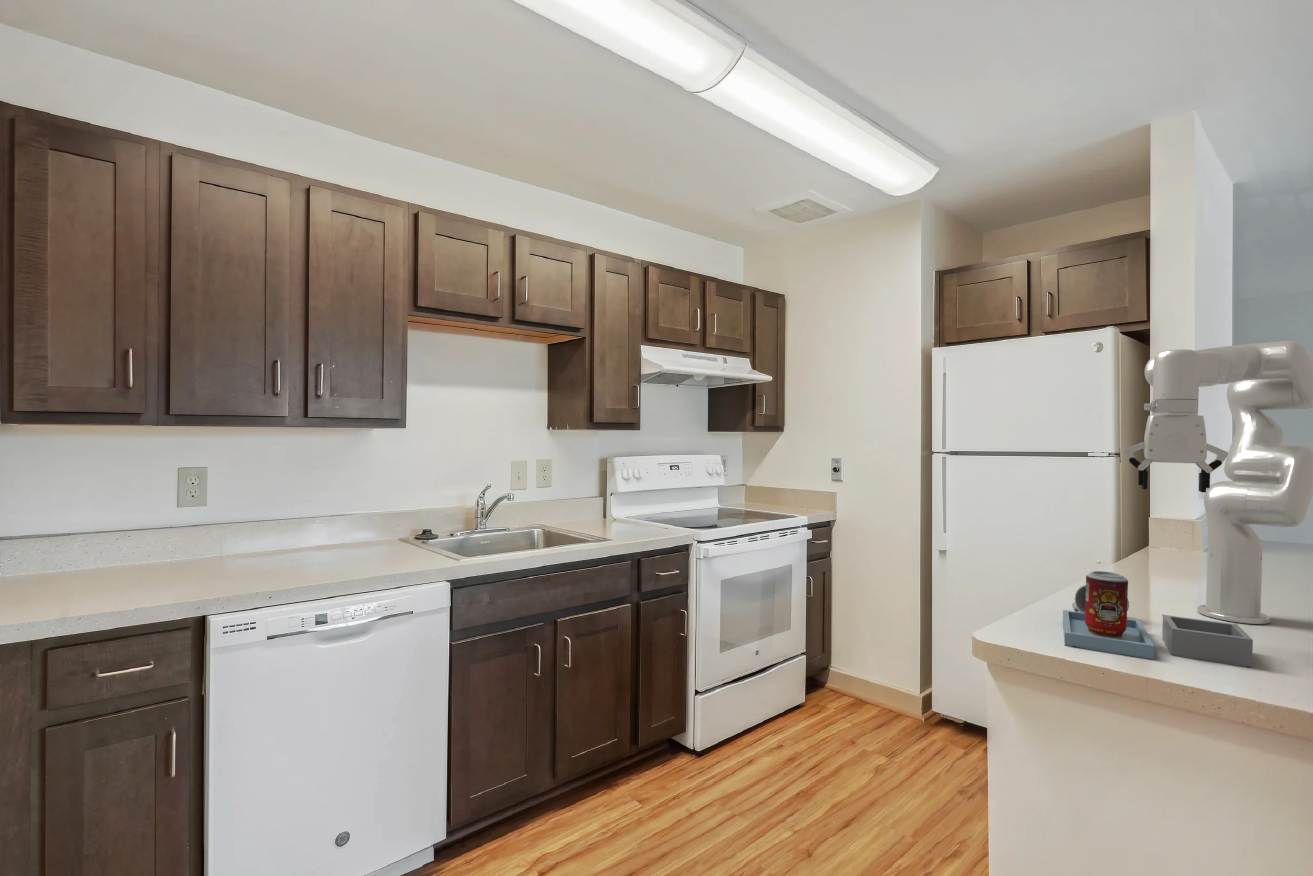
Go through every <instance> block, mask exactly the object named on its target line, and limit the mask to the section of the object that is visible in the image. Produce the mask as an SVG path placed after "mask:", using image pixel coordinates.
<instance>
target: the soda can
mask: <svg viewBox="0 0 1313 876" xmlns="http://www.w3.org/2000/svg"><path fill="white" fill-rule="evenodd" d="M1085 575H1086V576H1085V585H1086V598H1085V624H1086V625H1087V627H1088V630H1089V632H1090V633H1092V634H1095V635H1098V636H1103V637H1109V638H1120V637H1122V634H1123V633H1124V632H1125V630H1126V628H1127V619H1128V611H1127V600H1128V601H1129V598H1128V597H1129V595H1128V594H1129V593H1128V592H1129V589H1128V588H1129V580H1128V578H1126V577H1125V576H1124V575H1122V574H1119V573H1115V572H1111V571H1102V570H1101V571H1100V570H1099V571H1098V570H1096V571H1095V570H1094V571H1090V573H1087V574H1085Z"/></svg>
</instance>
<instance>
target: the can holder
mask: <svg viewBox="0 0 1313 876" xmlns="http://www.w3.org/2000/svg"><path fill="white" fill-rule="evenodd" d="M1161 634H1162V635H1161V639H1162V641H1163V642H1164V645H1165V646H1166V648H1167V650H1168V651H1169V654H1170V655H1171V656H1177V657H1181V658H1182V657H1183V658H1189V659H1195V660H1201V661H1207V662H1216V663H1222V664H1227V665H1234V666H1240V665H1242V666H1241V667H1246V666H1250V667H1249V668H1253V648H1254V647H1253V643H1254V641H1253V638H1252V637H1250V636H1249V634H1248V633H1246V632H1245V630H1244V629H1242V628H1241V627H1240V626H1239V625H1238V624H1236V623H1230V622H1229V623H1228V622H1224V621H1223V622H1221V621H1215V620H1214V621H1212V620H1207V619H1205V620H1204V619H1198V618H1192V617H1191V618H1190V617H1183V616H1177V615H1176V616H1174V615H1168V614H1162V633H1161Z"/></svg>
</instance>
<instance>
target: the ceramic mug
mask: <svg viewBox="0 0 1313 876" xmlns="http://www.w3.org/2000/svg"><path fill="white" fill-rule="evenodd" d="M1085 598H1086V584H1084V585H1081V586H1080V587H1079V588H1078V589H1076V591H1075V594H1074V602H1072V603H1071V606H1072V608H1073V611H1077V612H1082V613H1085ZM1129 607H1130V601H1129V599H1128V600H1127V612H1128V611H1129Z"/></svg>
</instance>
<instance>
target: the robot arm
mask: <svg viewBox="0 0 1313 876" xmlns="http://www.w3.org/2000/svg"><path fill="white" fill-rule="evenodd" d="M1144 376H1145V377H1144V378H1145V380H1146V382H1147V383H1148V385H1150V386H1151V387H1152V400H1151V402H1148V403H1144V405H1143V411H1149V412H1151V414H1152V415H1148V417H1147V421H1146V424H1145V431H1144V439H1143V441H1142V442H1139V443H1136V444H1134V445H1131V446H1129V447H1127V448H1123V450H1122V452H1123V455H1124V456H1125V457H1126V459H1127V461H1128V462H1129V464H1131V465H1132V466H1133V467H1135V468H1136V469H1137V471H1138V473H1137V485H1138V486H1141V490H1148V478H1149V476H1148V474H1149V473H1148V472H1149V471H1148V470H1147V467H1149V466H1150V465H1151V464H1152V463H1153V462H1154V463H1166V464H1167V463H1171V464H1195V465H1196V466H1197V467H1198V468H1199V469H1200V472H1199V473H1198V491H1199V492H1201V493H1203V505H1204V510H1205V516H1206V522H1207V558H1206V563H1207V564H1206V595H1205V596H1206V597H1205V598H1206V599H1205V604H1201V605H1200V604H1199V605H1198V606H1197V610H1196V611H1197V612H1198V613H1199V614H1201V615H1203V616H1206V617H1209V618H1213V619H1217V620H1222V621H1228V622H1233V623H1241V624H1247V625H1248V624H1250V625H1251V624H1252V625H1265V624H1269V623H1270V621H1271V617H1270V616H1268V615H1267V614H1265V613H1262V611H1261V609H1262V585H1263V584H1262V581H1263V543H1262V540H1261V539H1260V537H1259V535H1258V533H1256V531H1255V530H1254V529H1253V527H1251V526H1250V525H1260V526H1266V527H1267V526H1269V527H1276V528H1277V527H1279V528H1294V527H1295V528H1296V527H1298V526H1299V525H1301V524H1302V523H1303V522H1304V520H1305V519H1306V516H1307V513H1308V511H1309V507H1310V505H1311V501H1312V497H1313V449H1311V448H1309V447H1307V446H1305V445H1299V444H1298V445H1297V444H1282V441H1283V438H1284V431H1283V428H1282V427H1281V426H1280V424H1278V422H1277V421H1275V420H1274V419H1273V418H1272V417H1270V416H1269V415H1268V414H1266V413H1265V412H1264V410H1265V411H1268V410H1269V411H1270V410H1271V411H1273V410H1306V409H1307V410H1309V409H1313V358H1312V357H1311V354H1310V353H1309V351H1307V349H1306V348H1305V347H1304V346H1303V345H1302V344H1301V343H1298V342H1297V341H1294V340H1282V341H1281V340H1279V341H1268V342H1255V343H1246V344H1243V343H1242V344H1235V345H1226V346H1217V347H1210V348H1204V349H1197V350H1193V349H1181V348H1180V349H1179V348H1178V349H1167V350H1162V351H1159V352H1157V353H1156V354H1155V355H1154V356H1153V357H1151V358H1150V359H1149V360H1148V361H1147V363H1146V365H1145V367H1144ZM1216 385H1217V386H1218V385H1227V388H1226V399H1227V400H1226V401H1227V404H1228V408H1229V410H1230V413H1231V414H1230V415H1231V416H1232V418H1233V419H1232V420H1233V421H1234V425H1235V433H1234V435H1233V439H1232V441H1231V443H1230V447H1229V450H1228V451H1227V450H1223V449H1222V448H1219V447H1217V446H1214V445H1212V444H1210V443H1207V429H1206V422H1205V418H1204V415H1199V397H1200V396H1199V395H1200V394H1199V392H1200V391H1199V388H1203V387H1205V388H1206V387H1213V386H1216ZM1140 450H1142V454H1143V458H1144V459H1143V460H1142V461H1139V460H1137V458H1135V455H1134V453H1136V452H1137V451H1140ZM1208 452H1209V453H1212V454H1214V455H1216V457H1215V459H1213V461H1211V462H1210V463H1209V464H1208V463H1207V462H1206V460H1207V457H1208V456H1207V455H1208ZM1224 461H1225V462H1224ZM1223 463H1224V469H1223V471H1224V474H1225V476H1226V477H1227V478H1228V479H1229V480H1222V481H1217V482H1216V481H1215V482H1214V483H1211V474H1212V473H1213V471H1215V470H1216V469H1218V468H1219V467H1221V466H1222V465H1223Z"/></svg>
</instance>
